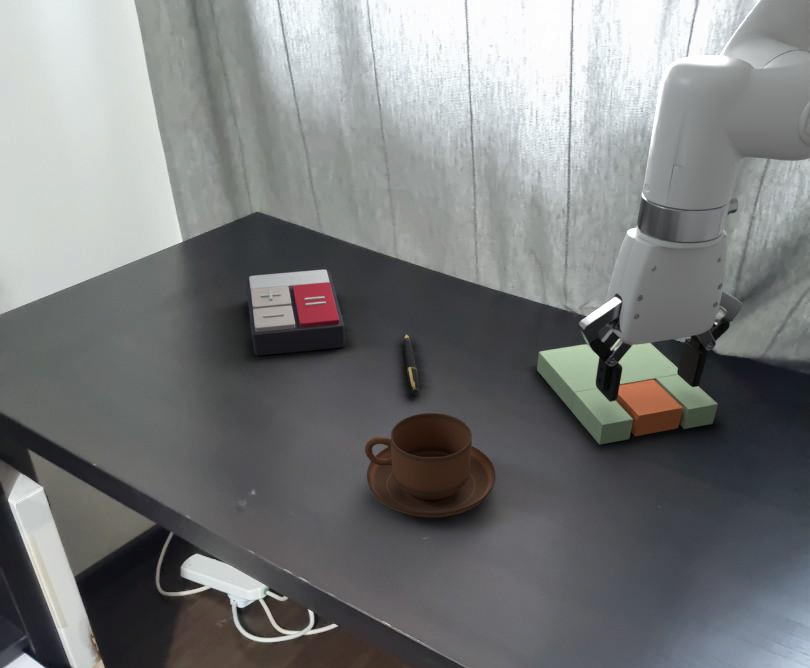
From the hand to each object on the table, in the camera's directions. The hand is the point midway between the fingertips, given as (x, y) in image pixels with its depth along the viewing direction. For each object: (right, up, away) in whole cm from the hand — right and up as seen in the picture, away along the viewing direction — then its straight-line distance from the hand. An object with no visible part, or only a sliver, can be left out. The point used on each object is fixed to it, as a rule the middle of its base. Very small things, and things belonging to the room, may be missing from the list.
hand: (647, 387), depth 85 cm
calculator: (-39, +11, +20) cm, 45 cm away
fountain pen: (-24, +4, +11) cm, 27 cm away
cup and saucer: (-22, -11, -6) cm, 26 cm away
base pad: (-1, 0, +6) cm, 6 cm away
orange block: (0, -3, +2) cm, 4 cm away
